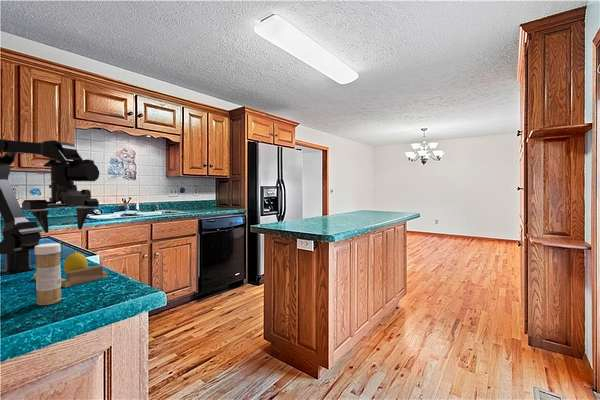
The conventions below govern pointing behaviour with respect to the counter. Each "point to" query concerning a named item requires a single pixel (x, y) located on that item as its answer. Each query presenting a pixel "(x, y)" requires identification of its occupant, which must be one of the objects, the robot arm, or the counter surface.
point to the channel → (82, 276)
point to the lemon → (75, 262)
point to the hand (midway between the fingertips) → (64, 231)
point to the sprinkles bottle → (48, 273)
